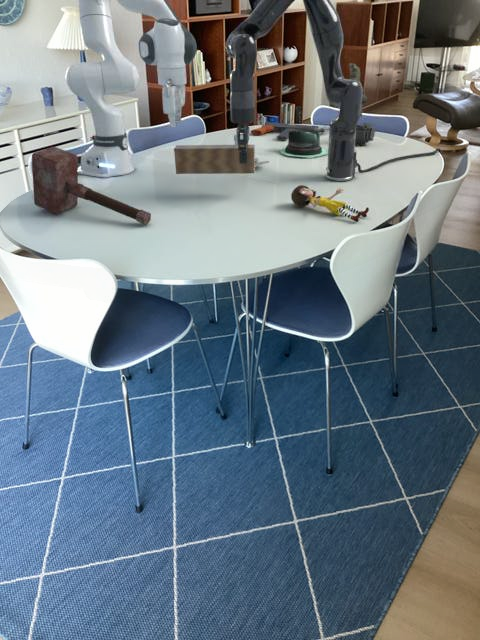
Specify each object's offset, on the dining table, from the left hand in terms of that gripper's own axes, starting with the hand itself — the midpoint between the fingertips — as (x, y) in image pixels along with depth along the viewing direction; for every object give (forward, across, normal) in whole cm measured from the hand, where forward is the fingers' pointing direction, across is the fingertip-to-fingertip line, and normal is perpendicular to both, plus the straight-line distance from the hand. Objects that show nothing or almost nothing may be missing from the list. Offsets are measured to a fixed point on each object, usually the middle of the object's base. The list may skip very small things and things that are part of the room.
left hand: (175, 124), depth 179 cm
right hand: (+11, -3, -22) cm, 25 cm away
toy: (+21, +72, -67) cm, 100 cm away
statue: (+20, +98, -69) cm, 122 cm away
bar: (+14, -3, -12) cm, 19 cm away
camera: (+22, +34, -21) cm, 46 cm away
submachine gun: (+20, +90, -36) cm, 99 cm away
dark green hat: (+21, +57, -44) cm, 75 cm away
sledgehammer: (+23, -22, +24) cm, 40 cm away
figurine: (+24, -18, -48) cm, 57 cm away
